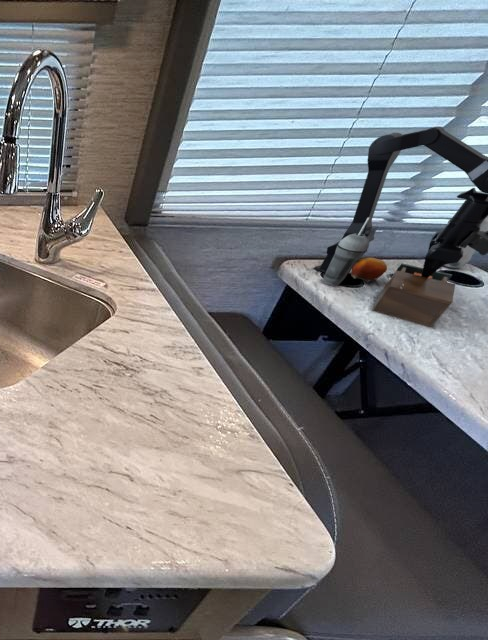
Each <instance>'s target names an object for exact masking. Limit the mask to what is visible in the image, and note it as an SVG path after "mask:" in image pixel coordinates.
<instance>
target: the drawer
mask: <svg viewBox="0 0 488 640" xmlns="http://www.w3.org/2000/svg"><path fill="white" fill-rule="evenodd" d="M396 271H401V272H406V273H410V274H414V273H415V272H416V273H420V274H422V271H423V267H421V266H416V265H412V264H408V263H402V262H401V263H400V264H399V266H398V267H397V269H396V270H395V272H396ZM393 275H394V273H393V274H392V276H393ZM430 276H433V277H432V279H436V280H440V281H444V282H449V280H450V279H451V278H452V276H453V274H451V273H447V272H443V271H438V270H437V271H435V272H434V273H433V274H432V275H430Z"/></svg>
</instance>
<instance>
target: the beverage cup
mask: <svg viewBox="0 0 488 640" xmlns="http://www.w3.org/2000/svg"><path fill="white" fill-rule="evenodd" d="M369 219H370V218H367V220H366V222H365V223H364V225H363V227H362V229H361V230H360V232H359V233H355V234H351V235H348V236H346V237H345V238H343V239H342V238H341V239H342V240H341V239H340V240H339V241H340V243H339V244H338V245H337V248H336V251H335V254H334V256H333V258H332V261H331V263H330V265H329V267H328V269H327V271H326V273H324V275H323V277H322V280H321V282H322V283H323V284H325V285H327V286H330V287H338V286H340V285H341V284H342V282H343V281H344V280H345V279H346V277H347V276H348V275H349V274H350V273H351V271H352V268H353V267H354V265H355V264H356V263H357V261H358V260H359V259H362V257H363V256H364V255H365V254H366V252H368V249H369V247H370V243H369V239H368V238H367V237H366V236H365V235H363V234H361V233H362V231H363V229H364V227H365V226H366V224H367V222H368V220H369Z"/></svg>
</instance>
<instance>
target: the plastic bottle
mask: <svg viewBox="0 0 488 640" xmlns="http://www.w3.org/2000/svg"><path fill="white" fill-rule="evenodd" d="M480 231H483V232H485V231H488V216H487V217H486V219H485V220H484V221H483V222H482V224H481V226H480ZM460 248H462V250H463V257H462V258H461V259H460V260H459V261H458V263H449V264H445V265H443V266H444V267H447V268H451V269H452V268H453V269H460V268H463V267H465V266H466V265H467V264H469V263H470V260H471V259H472V257H473V255H474V253H475V252H476V250H474V249H473V248H471V247H469V246H468V245H467V247H466V248H463V247H460Z"/></svg>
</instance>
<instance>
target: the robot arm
mask: <svg viewBox="0 0 488 640" xmlns="http://www.w3.org/2000/svg"><path fill="white" fill-rule="evenodd" d="M423 146H424V147H426V148H428V149H429V150H431V151H432V152H434V153H435V154H437V155H439V156H440V157H441V158H443V159H445V160H446V161H447V162H449V163H450V164H452V165H454V166H455V167H456V168H459V169H460V170H461V171H463V172H464V173H465V175H467V178H469V180H470V181H471V183H472V184H473V185H474V186H475V187H476V188H477V189H478V191H477V190H476V188H475V187H472V188H470V189H469V190H466V191H463V192H461V193H459V194H458V195H456V198H457V199H461V200H464V201H463V203H462V204H461V205H460V207H459V208H458V209H457V211H456V212H455V213H454V215H453V216H452V217H450V219H449V220H448V221H447V224H446V225H445V227H444V228H441V229H439V230H438V229H437V230H436V231H435V232H434V234H433V235H432V237H431V240H430V242H429V244H428V249H427V252H426V254H425V258H424V263H423V267H422V268H423V271H422V276H423V277H427V278H428V277H429V276H430V275H432V274H433V273H434V272H435V271H438V270H439V269H441V268H442V267H443V266H444V265H445V264H449V263H458V261H459V260H460V259H461V258H462V257H463V250H462V248H460V247H463V248H466V247H467V245H468V246H469V247H471V248H473V249H474V250H475V252H478V254H479V255H482V256H486V255H487V254H488V231H485V232H483V231H480V226H481V224H482V222H483V221H484V220H485V219H486V217H487V216H488V156H487V155H485V154H483V153H482V152H480V151H478V150H477V149H475V148H473V147H472V146H470V145H469V144H467V143H466V142H464V141H462V140H461V139H459V138H457V137H456V136H454V135H453V134H451V133H450V132H448V131H446V130H445V128H444V127H442V126H433V127H430V128H427V129H422V130H419V131H413V132H409V133H404V134H402V133H400V132H391V133H387V134H384V135H381V136H378V137H377V138H375V140H373V141H372V142H371V143H370V145H369V147H368V153H367V175H366V177H365V181H364V184H363V187H362V190H361V193H360V197H359V200H358V203H357V206H356V209H355V212H354V216H353V219H352V221H351V223H350V225H348V227H347V229H346V231H345V232H344V234H343V236H342V238H341V239H340V240H339V241H336V242H335V243H333V244H331V245H329V246H328V247H326V256H325V258H324V259H323V261H322V263H321V264H320V265H316V266H314V267H313V269H314V270H317V271H319V272H321V273H324V274H325V273H326V271H327V269H328V267H329V265H330V263H331V261H332V258H333V256H334V254H335V251H336V248H337V245H338V244H339V243H340V241H341V240H342V239H343V238H345V237H346V236H348V235H351V234H355V233H359V232H360V230H361V229H362V227H363V225H364V223H365V222H366V220H367V218H370V219H369V220H368V222H367V224H366V226H365V227H364V229H363V231H362V233H361V234H363V235H365V236H366V237H367V238H368V239H369V244H371V242H373V241H374V240H375V234H376V232H377V230H378V228H379V226H378V225H377V226H376V225H375V226H373V222H372V221H373V218H374V215H375V211H376V209H377V205H378V202H379V200H380V197H381V194H382V191H383V188H384V186H385V182H386V180H387V176H388V174H389V170H390V169H391V167H392V166H393V165H394V162H396V160H397V158H398V156H400V153H401V151H404V150H408V149H413V148H417V147H423Z"/></svg>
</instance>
